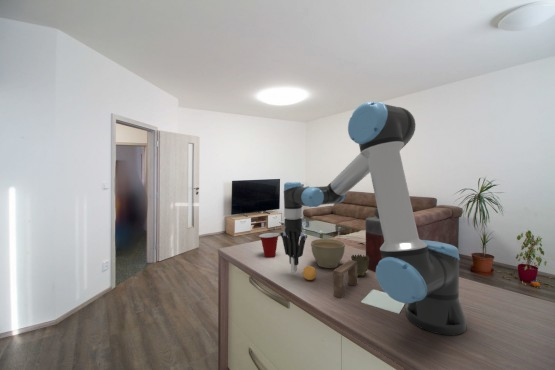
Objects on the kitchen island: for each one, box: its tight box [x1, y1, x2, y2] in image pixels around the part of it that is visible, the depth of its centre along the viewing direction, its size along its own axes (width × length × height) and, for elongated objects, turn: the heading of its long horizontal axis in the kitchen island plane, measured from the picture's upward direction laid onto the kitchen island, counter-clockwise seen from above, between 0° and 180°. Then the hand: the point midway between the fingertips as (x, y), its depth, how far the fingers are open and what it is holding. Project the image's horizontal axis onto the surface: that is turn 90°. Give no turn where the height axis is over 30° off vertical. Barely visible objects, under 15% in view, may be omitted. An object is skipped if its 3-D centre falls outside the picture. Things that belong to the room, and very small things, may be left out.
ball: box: [302, 265, 317, 281], centre depth 106 cm, size 6×6×6 cm
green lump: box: [350, 254, 369, 277], centre depth 110 cm, size 8×7×8 cm
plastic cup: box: [259, 232, 280, 259], centre depth 138 cm, size 11×11×12 cm
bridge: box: [332, 259, 358, 299], centre depth 96 cm, size 3×14×9 cm, turn 141°
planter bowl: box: [310, 238, 346, 269], centre depth 123 cm, size 16×16×11 cm
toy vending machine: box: [365, 208, 384, 273], centre depth 116 cm, size 9×11×28 cm
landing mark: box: [360, 289, 406, 315], centre depth 87 cm, size 12×12×1 cm
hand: (294, 271), depth 111 cm, fingers closed
